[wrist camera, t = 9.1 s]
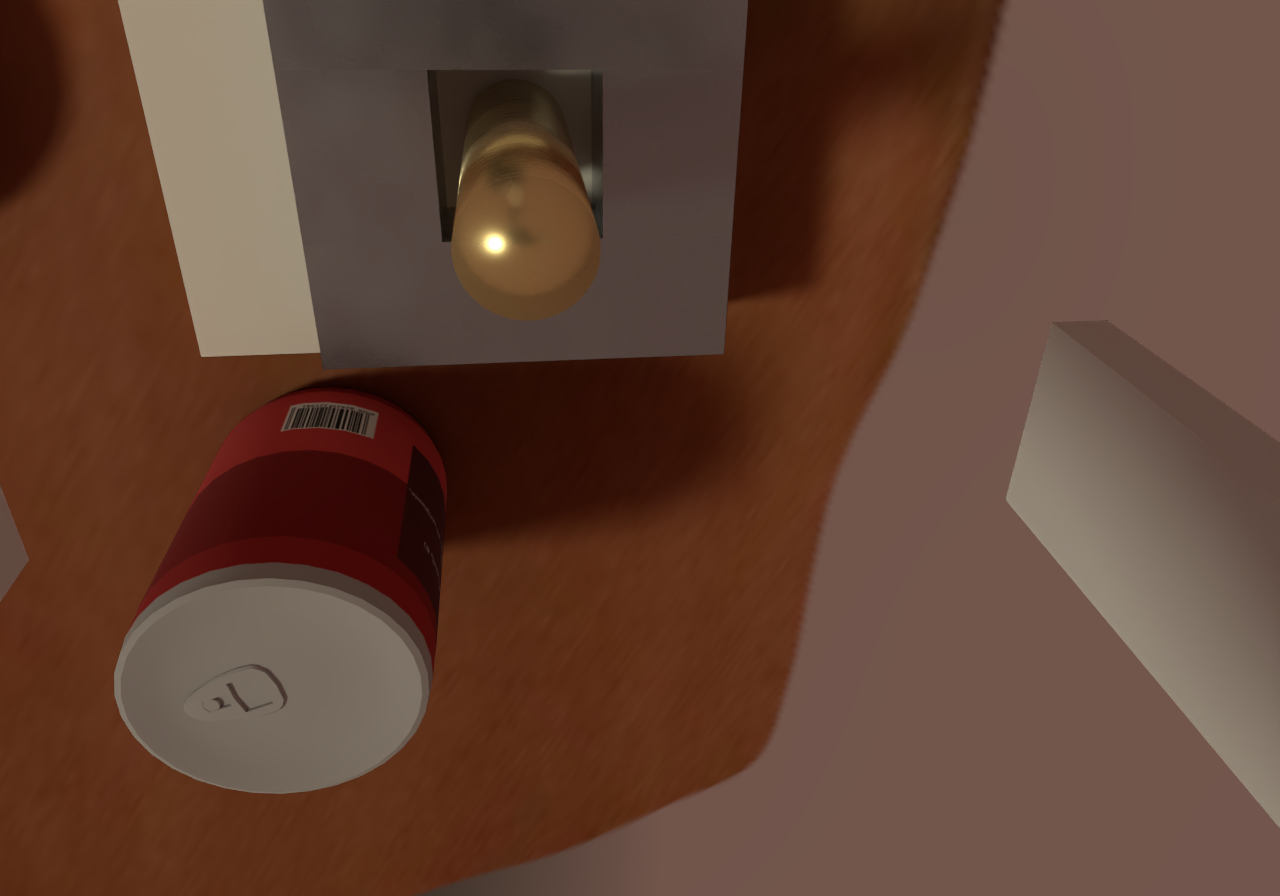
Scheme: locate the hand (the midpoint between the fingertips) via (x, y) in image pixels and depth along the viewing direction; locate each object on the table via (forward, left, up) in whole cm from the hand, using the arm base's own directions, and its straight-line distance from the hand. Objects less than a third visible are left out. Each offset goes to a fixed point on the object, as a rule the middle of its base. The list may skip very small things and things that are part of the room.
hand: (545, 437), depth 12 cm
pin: (0, 0, -19) cm, 19 cm away
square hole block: (0, 0, -19) cm, 19 cm away
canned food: (+12, -7, -20) cm, 24 cm away
